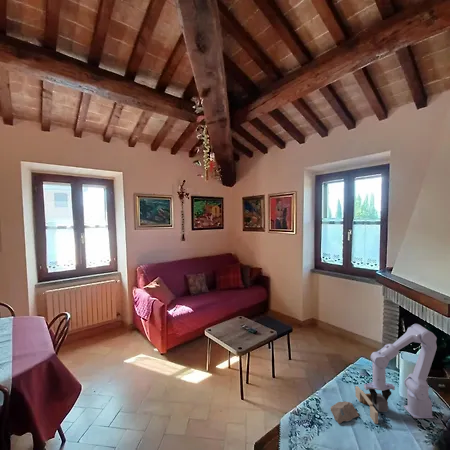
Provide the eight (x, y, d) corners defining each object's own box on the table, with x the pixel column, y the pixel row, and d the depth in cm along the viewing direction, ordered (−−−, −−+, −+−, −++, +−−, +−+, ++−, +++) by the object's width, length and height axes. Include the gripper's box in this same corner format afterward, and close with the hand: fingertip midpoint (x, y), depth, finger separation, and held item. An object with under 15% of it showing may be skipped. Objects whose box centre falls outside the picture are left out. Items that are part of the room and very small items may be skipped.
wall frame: (358, 395, 138) (358, 384, 138) (378, 423, 119) (377, 410, 119) (355, 395, 138) (355, 384, 138) (375, 423, 119) (374, 410, 119)
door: (362, 402, 133) (362, 393, 132) (377, 402, 132) (377, 393, 132) (364, 406, 130) (364, 396, 130) (380, 406, 130) (380, 396, 130)
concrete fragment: (361, 418, 122) (361, 406, 122) (338, 426, 118) (338, 413, 118) (350, 408, 129) (350, 396, 129) (328, 415, 125) (328, 403, 125)
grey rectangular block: (380, 402, 130) (380, 393, 130) (387, 411, 124) (387, 401, 124) (372, 402, 130) (372, 393, 130) (378, 411, 124) (378, 401, 124)
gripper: (388, 371, 131) (388, 397, 131) (360, 372, 131) (361, 397, 131) (397, 380, 124) (397, 407, 124) (368, 380, 124) (368, 407, 124)
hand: (379, 402), depth 127 cm, fingers closed on grey rectangular block, 4 cm apart
